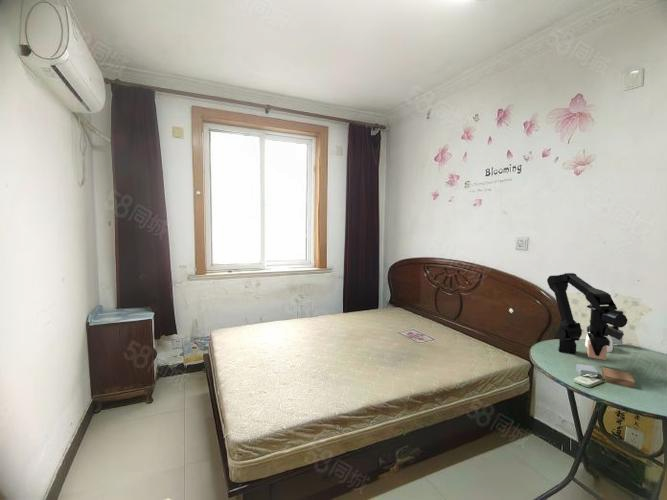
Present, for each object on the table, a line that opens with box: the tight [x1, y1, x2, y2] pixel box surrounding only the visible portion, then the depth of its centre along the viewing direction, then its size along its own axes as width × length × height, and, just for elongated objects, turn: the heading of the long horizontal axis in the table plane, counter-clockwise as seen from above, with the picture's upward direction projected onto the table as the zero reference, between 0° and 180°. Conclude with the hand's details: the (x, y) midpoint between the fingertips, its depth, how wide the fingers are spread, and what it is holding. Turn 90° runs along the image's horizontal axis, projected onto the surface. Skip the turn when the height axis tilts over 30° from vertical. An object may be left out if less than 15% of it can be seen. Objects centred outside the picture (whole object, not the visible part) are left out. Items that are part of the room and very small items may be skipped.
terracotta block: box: [586, 340, 608, 361], centre depth 141 cm, size 6×6×6 cm
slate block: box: [575, 363, 599, 377], centre depth 135 cm, size 6×6×3 cm
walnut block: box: [601, 366, 636, 389], centre depth 130 cm, size 9×9×3 cm
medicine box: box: [610, 328, 624, 346], centre depth 166 cm, size 8×4×9 cm, turn 71°
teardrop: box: [584, 332, 614, 353], centre depth 161 cm, size 11×11×12 cm
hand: (596, 353), depth 141 cm, fingers closed on terracotta block, 6 cm apart
